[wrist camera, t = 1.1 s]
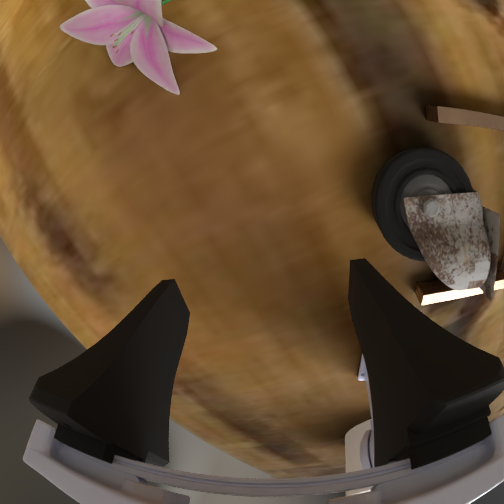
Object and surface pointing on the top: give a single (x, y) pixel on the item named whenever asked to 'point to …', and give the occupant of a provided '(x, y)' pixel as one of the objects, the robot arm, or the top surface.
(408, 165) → the caster wheel
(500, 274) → the motor mount
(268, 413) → the top surface
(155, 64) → the lily
